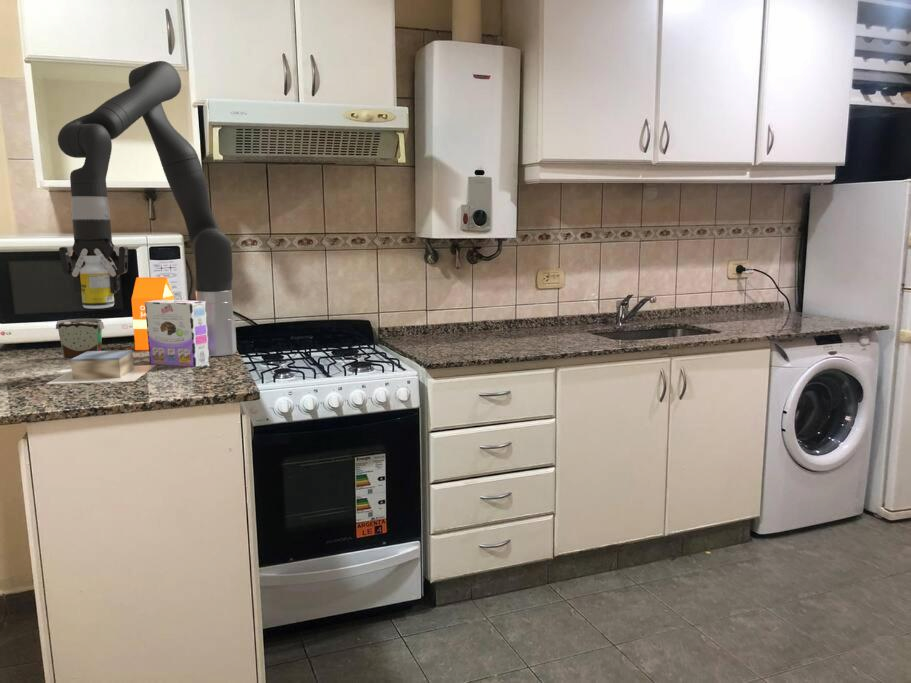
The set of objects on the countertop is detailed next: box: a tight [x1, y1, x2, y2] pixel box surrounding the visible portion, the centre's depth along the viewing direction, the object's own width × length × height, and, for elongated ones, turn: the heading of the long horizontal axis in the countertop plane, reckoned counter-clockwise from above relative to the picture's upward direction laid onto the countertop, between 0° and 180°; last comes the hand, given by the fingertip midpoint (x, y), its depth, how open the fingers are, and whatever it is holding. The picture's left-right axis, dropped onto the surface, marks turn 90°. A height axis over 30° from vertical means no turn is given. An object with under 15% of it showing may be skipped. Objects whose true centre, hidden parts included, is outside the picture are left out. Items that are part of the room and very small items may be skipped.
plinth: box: [70, 349, 135, 379], centre depth 162 cm, size 10×10×4 cm
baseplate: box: [45, 364, 157, 385], centre depth 163 cm, size 18×18×1 cm
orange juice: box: [131, 276, 175, 351], centre depth 201 cm, size 8×9×20 cm
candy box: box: [145, 299, 210, 370], centre depth 174 cm, size 14×6×16 cm, turn 71°
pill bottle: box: [80, 256, 115, 310], centre depth 159 cm, size 6×6×12 cm
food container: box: [55, 318, 105, 360], centre depth 188 cm, size 12×6×10 cm, turn 84°
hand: (97, 293), depth 160 cm, fingers closed on pill bottle, 6 cm apart
